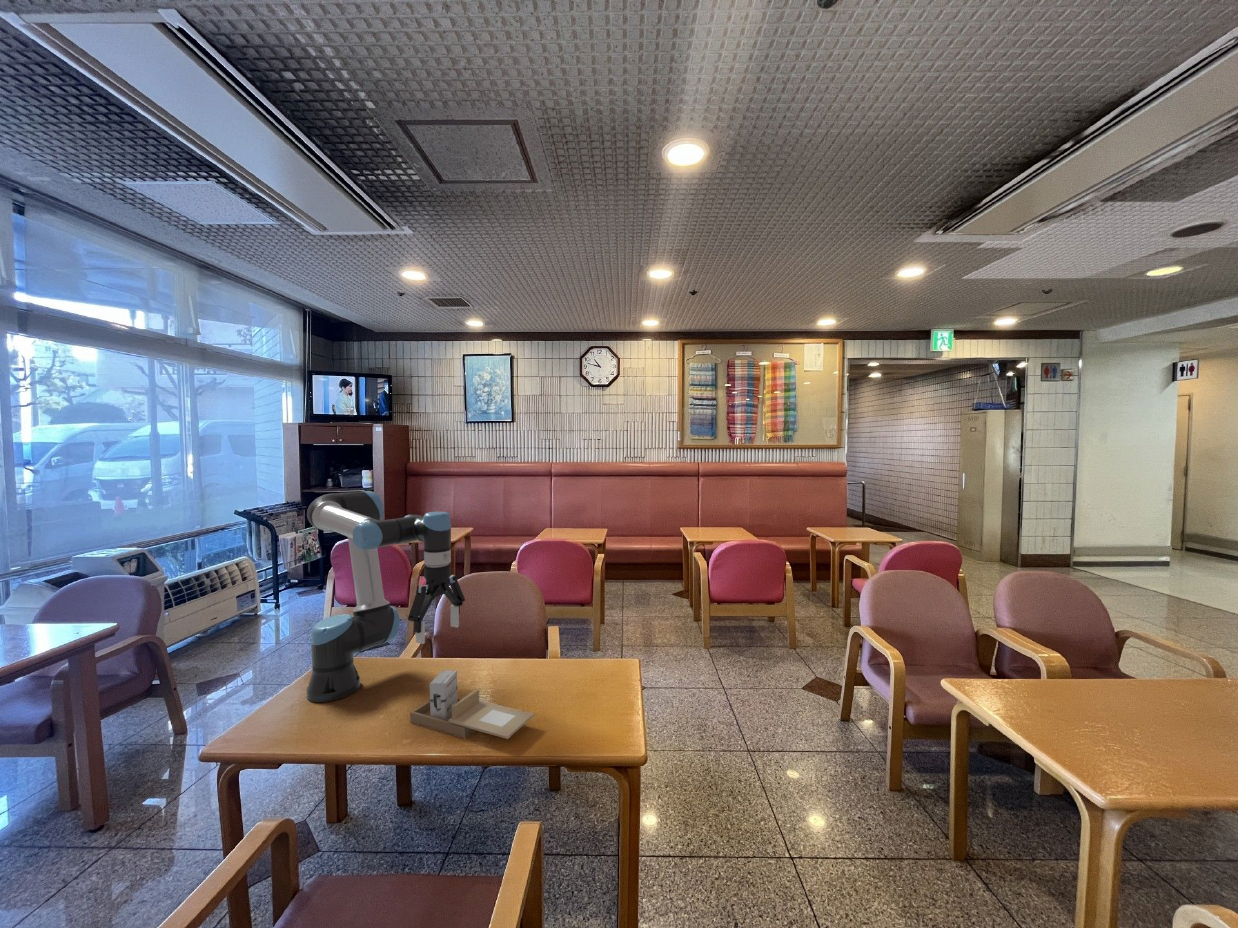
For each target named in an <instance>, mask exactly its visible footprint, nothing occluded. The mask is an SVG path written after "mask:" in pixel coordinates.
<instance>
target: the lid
mask: <svg viewBox="0 0 1238 928" xmlns="http://www.w3.org/2000/svg"><path fill="white" fill-rule="evenodd" d="M534 716H535V713H533V712H530V711H526V710H525V711H524V710H521V709H516V708H513V707H510V706H509V707H508V706H505V705H500V704H496V703H492V702H489V701H484V700H481V699H480V690H479V689H475V690H473V691H472V692H470V693H469V694H467V695H466V696H464V697H463V698H462V699H461V700H460V701H458V702H457V703H455V704H454V705H452V718H450V719H449V720H448V722H449V723H453V724H456V725H460V726H463V727H467V728H470V729H474V730H476V731H477V732H481V733H485V734H489V735H491V736H496V737H499V738H503V739H505V740H508V739H510V738H511V737H512V736H513V735H514V734H515V733H516V732H517V731H519V730H520V729H521V728H522V727H524V725H526V724H527V723H528V722H529V721H530V720H531V719H533V717H534Z"/></svg>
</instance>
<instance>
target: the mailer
mask: <svg viewBox="0 0 1238 928" xmlns="http://www.w3.org/2000/svg"><path fill="white" fill-rule="evenodd" d="M461 699H463V698H462V697H458V701H460V700H461ZM409 717H410V718H409V720H410V722H409V723H410V724H414V725H417V726H420V727H424V728H426V729H431V730H433V731H438V732H441V733H445V734H447V735H450V736H454V737H457V738H460V739H464V740H466V739H467V738H468V737H469V736H471V735H472V734H473V733H475V732H476V731H477V730H474V729H470V728H467V727H463V726H460V725H456V724H453V723H449V722H448V721H446V720H442V719H439V718H435V717H432V716H430V699H429V700H428V701H425V703H423V704H421V705H419V706H418V707H416V708H415V709H413V710H412V711H410V712H409ZM451 718H452V717H451Z"/></svg>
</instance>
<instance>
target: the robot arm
mask: <svg viewBox="0 0 1238 928" xmlns="http://www.w3.org/2000/svg"><path fill="white" fill-rule="evenodd" d="M306 510H307V511H306V517H307V520H308V522H309V524H310V525H312V526H313V527H314V528H317V529H318V530H321V531H332V532H335V533H337V534H341V535H342V536H345V537H347V540H348V547H349V548H348V549H349V555H350V561H351V569H352V577H353V585H354V592H355V599H356V600H355V601H356V606H355V607H354V608H353V610H352V614H353V615H350V614H347V613H345V614H344V613H341V614H339V615H337V614H335V615H331V616H329V617H325V618H324V619H321V620H320V621H318V622H317V623H315V624H314V626H313V627H312V628H311V635H310V636H311V638H310V644H311V645H310V647H311V668H312V669H311V670H312V671H311V676H310V678H309V681H308V686H307V688H306V698H307V700H308V701H310V702H311V703H327V702H334V701H337V700H340V699H344V698H346V697H348V696H351V695H352V694H354V693H355V692H357V691H358V690H359V689H360V687H361V678H360V675H359V672H358V670H357V668H356V666H355V662H354V654H355V653H358V652H362V651H365V650H367V649H368V650H369V649H370V648H373V647H376V646H381V645H384V644H386V643H388V642H391V641H393V640H394V639H395V638H396V636H397V634H398V633H399V630H400V624H401V623H400V622H401V621H400V615H399V611H398V610H397V608H396V607H394V606H391V604H390V603H391V602H390V601H389V600H387V599H385V593H384V588H383V587H384V586H383V579H382V573H381V565H380V558H379V553H378V551H379V550H378V549H379V548H383V547H389V546H392V545H400V544H405V543H411V542H420V543H423V564H424V565H425V566H424V567H423V576H424V579H425V585H421V584H420V585H419V584H418V585H417V586H416V591H415V592H416V594H415V596H414V599H413V602H412V605H411V608H410V611H409V614H408V617H407V620H408V621H409V622H413V623H414V625H413V627H414V628H413V630H414V633H415V643H417V644H422V645H423V644H426V630H425V629H426V625H425V624H426V620H423V619H424V618H425V615H426V614H427V611H428V610H429V608H430V606H431V604H432V602H433V601H434V600H435V599H436V598H438V597H440V596H443V595H444V596H445V597H446V598H447V599H448V600H449V602H450V603H451V605H450V609H449V610H450V611H449V612H450V614H449V615H450V618H449V619H450V627H453V628H459V627H460V614H461V608H460V607H462V606H463V605H464V602H465V601H466V598H465V595H464V593H463V591H462V589H461V587H460V586H461V585H460V583H459V582H458V581H459V580H458V576H457V575H456V574H452V564H451V562H452V557H451V556H452V554H451V553H452V547H451V546H452V523H451V515H450V513H449V512H447V511H430V512H429V511H428V512H426V513H424V515H419V514H408V515H405V516H403V517H399V518H392V519H384V513H385V512H384V511H385V509H384V505H383V501H382V499H381V498H380V496H379V495H377V493H376V492H374V491H372V490H357V491H345V492H336V493H335V492H334V493H327V494H323V495H321V496H319V497H316V498H315V499H314V500H313V501H312V502H311V503H310V504H309V506H308V508H307V509H306Z"/></svg>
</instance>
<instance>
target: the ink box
mask: <svg viewBox="0 0 1238 928" xmlns="http://www.w3.org/2000/svg"><path fill="white" fill-rule="evenodd" d="M458 695H459V694H458V671H457V670H441V671H440V672H439V674H438V675H436V677H435V678H434V679H433V680H432V681H431V682H430V683H429V700H430V716H432V717H435V718H439V719H442V720H446V721H448V720H449V719H450V718H451V717H452V705H454V704H455V703H457V702H458V698H459V697H458Z"/></svg>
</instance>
